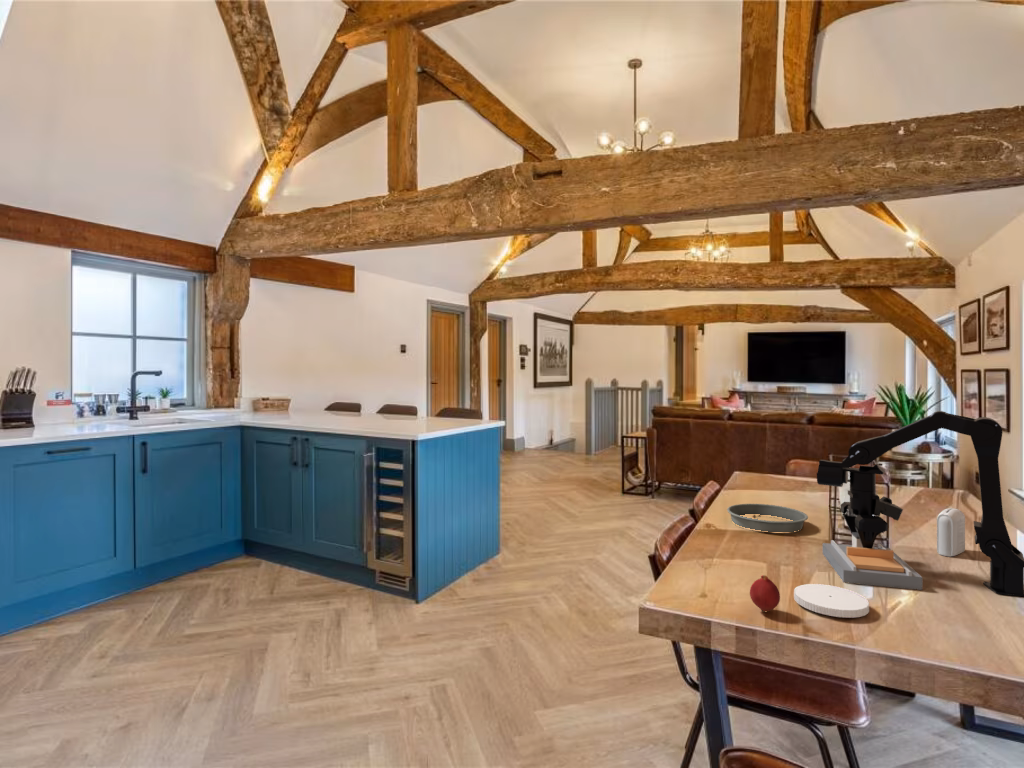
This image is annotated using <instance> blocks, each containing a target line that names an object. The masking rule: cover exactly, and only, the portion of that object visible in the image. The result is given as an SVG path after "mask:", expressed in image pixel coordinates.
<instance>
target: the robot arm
mask: <svg viewBox="0 0 1024 768" xmlns="http://www.w3.org/2000/svg"><path fill="white" fill-rule="evenodd" d="M939 429H943V430H946V431H951V432H953V433H954V432H955V433H958V434H962V435H966V436H970V438H971V441H972V446H973V448H974V452H975V454H976V458H977V465H978V479H979V490H980V499H981V500H980V501H981V511H982V513H981V520H980V521H976V520H973V528H974V532H975V535H974V543H975V545H978V546H979V549H980V551H981V553H983V554H984V555H985V556H986V557H988V558H990V562H989V567H990V568H989V571H990V572H989V581H982V584H983V585H984V586H985V587H987V588H988V589H989V590H991V591H993V592H994V593H995V594H998V595H1003V596H1004V595H1006V596H1014V597H1015V596H1016V597H1024V554H1023V552H1022V551H1021V550H1019V548H1017V547H1016V546H1015V545H1013V544H1012V541H1011V538H1010V535H1009V531H1008V528H1007V525H1006V522H1005V519H1004V512H1003V511H1004V510H1003V509H1004V508H1003V501H1002V490H1001V489H1002V487H1001V478H1000V476H1001V475H1000V466H999V465H1000V463H999V456H1000V451H1001V444H1002V438H1003V428H1002V426H1001V425H1000V423H999V422H998V421H996V420H995V419H994V418H991V417H988V416H987V417H985V416H983V417H982V416H981V417H978V418H972V417H968V416H964V415H958V414H953V413H948V412H946V411H943V410H937V411H934V412H933V413H931V414H930V415H927V416H925V417H923V418H921V419H918V420H915V421H914V422H912V423H909V424H907V425H904V426H902V427H900V428H897V429H896V430H893V431H891V432H889V433H886V434H883V435H880V436H874V437H870V438H867V439H863V440H859V441H857V442H855V443H854V444H852V445H850V447H849V449H848V456H846V458H844V459H842V460H841V461H834V460H828V459H820V460H818V466H817V472H816V482H817V485H819V486H820V485H821V486H831V487H839V488H843V485H845V484H848V483H849V490H847V495H848V496H849V501H844V502H842V503H841V504H840V512H841V513H842V516H843V518H844V520H845V523H846V524H847V528H848V529H849V531H850V534H851V535H852V532H857V533H858V536H859V539H860V541H861V544H862V546H863V548H872V547H873V545H874V546H875V541H876V539H877V536H878V535H879V536H880V534H883V533H885V532H888V530H889V528H888V527H889V524H888V522H887V521H886V520H885V519H884V518H882V517H881V515H884V516H886V517H889V518H891V519H893V520H895V521H899V520H900V517H901V516H902V513H903V510H904V509H903V508H901V507H900V506H898V505H897V504H894V503H893V500H892V499H891V498H889V497H887V496H882V497H880V496H879V495H878V494H877V493H876V492H877V491H876V489H877V487H876V485H877V484H876V481H877V480H876V479H877V478H876V477H877V476H876V475H883V474H884V473H885V472H886V471H885V469H883V468H882V467H881V466H880V465H879V463H876V464H874V465H871V466H870V465H868V464H870V463H872V462H873V461H875V460H877V459H878V458H880V457H882V456H883V455H884V454H886V453H887V452H889V451H890V450H892V449H894V448H897V447H898V446H901V445H903V444H906V443H908V442H912V441H913V440H916V439H918V438H921V437H923V436H926V435H927V434H930V433H933V432H935V431H938V430H939ZM856 465H859V467H857V468H856V467H854V466H856ZM848 480H849V482H848Z"/></svg>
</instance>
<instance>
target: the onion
mask: <svg viewBox="0 0 1024 768" xmlns="http://www.w3.org/2000/svg"><path fill="white" fill-rule="evenodd" d="M749 597H750V599H751V601H752V603H753V604H754V605H755V606H756V607H757V608H759V610H760V611H761V610H763V611H768V612H770V611H772V610H774V609H775V608H776V607H778V605H779V603H780V601H781V594H780V590H779V588H778V587H777V585H776V584H775V583H774V582H773V581H772V580H771V579H770V578H769V577H768V576H767V575H766V574H761V575H760V578H758V579H756V580H754V581H753V583H752V584H751V586H750V589H749ZM763 611H762V612H763Z"/></svg>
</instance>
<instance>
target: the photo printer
mask: <svg viewBox="0 0 1024 768" xmlns="http://www.w3.org/2000/svg"><path fill="white" fill-rule="evenodd" d="M965 551H966V516H965V514H964V512H963V511H962V510H960V509H959V508H953V507H949V508H945V509H943V510H942V511H941V512H940V513H939V514H938V515H937V519H936V552H937V554H939V555H940V556H945V557H949V558H950V557H955V556H957V555H959V554H961V553H964V552H965Z"/></svg>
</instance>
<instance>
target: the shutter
mask: <svg viewBox="0 0 1024 768" xmlns="http://www.w3.org/2000/svg"><path fill="white" fill-rule="evenodd" d="M894 553H895V551H894V550H893V549H891V550H886V549H873V548H860V547H848V546H847V557H848V558H849V559H850V560H851V561H852V563H853V564H854V565H855V566H856V568H858V569H869V570H880V571H892V572H903V573H904V568H903V567H902V566H901V565H900V564H899V563H898V562H896V561H895V560H894Z"/></svg>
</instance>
